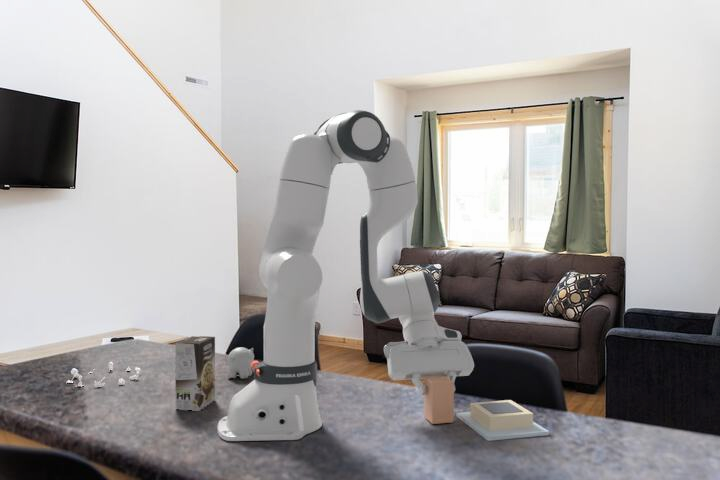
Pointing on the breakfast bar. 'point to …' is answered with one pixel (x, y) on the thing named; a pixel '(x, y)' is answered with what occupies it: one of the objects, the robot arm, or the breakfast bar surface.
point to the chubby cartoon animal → (240, 362)
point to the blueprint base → (504, 432)
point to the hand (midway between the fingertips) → (438, 392)
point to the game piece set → (74, 371)
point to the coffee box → (195, 373)
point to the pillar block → (439, 400)
